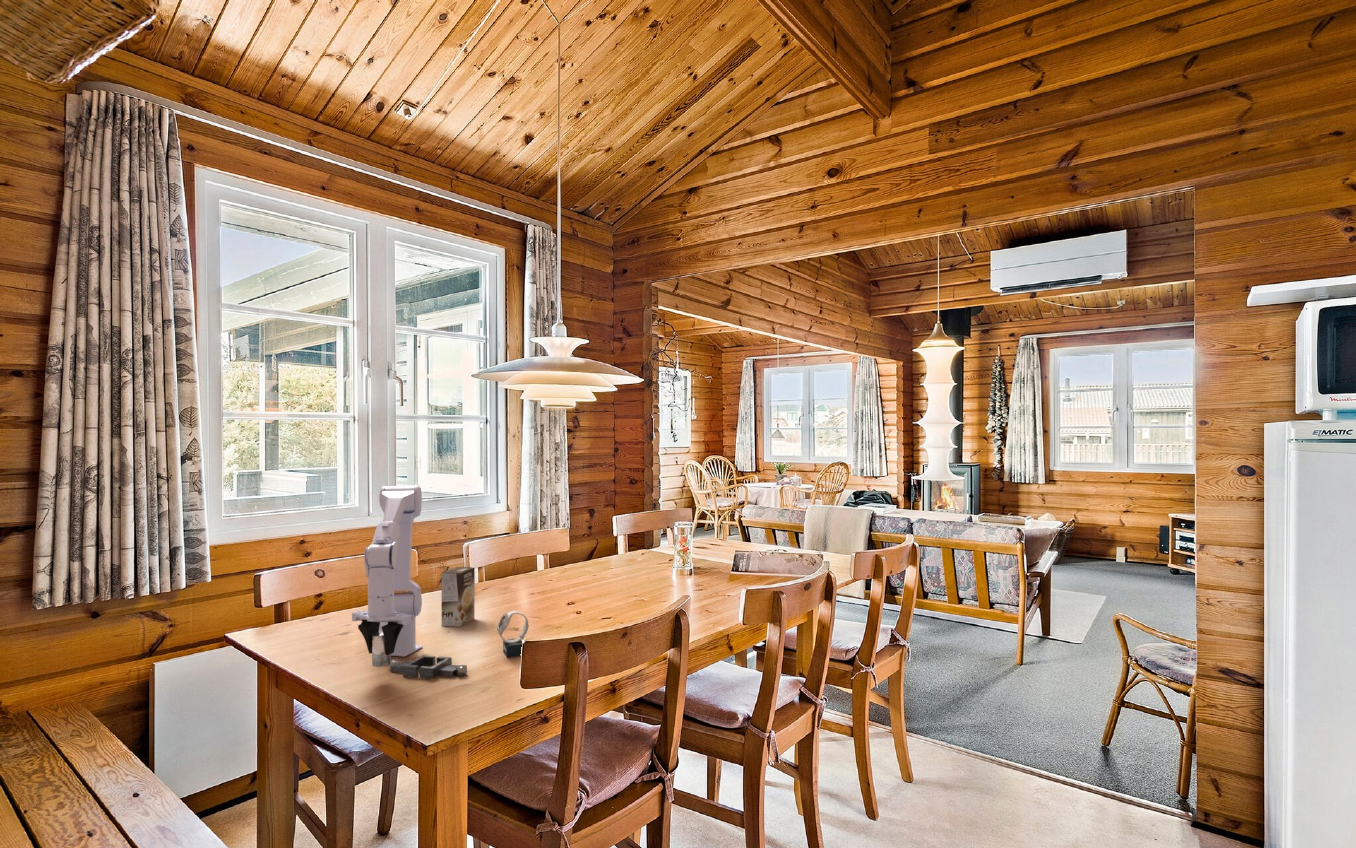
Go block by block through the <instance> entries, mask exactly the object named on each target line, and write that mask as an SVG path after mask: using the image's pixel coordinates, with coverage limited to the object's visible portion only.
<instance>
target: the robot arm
mask: <svg viewBox="0 0 1356 848" xmlns="http://www.w3.org/2000/svg"><path fill="white" fill-rule="evenodd" d="M422 494H423V493H422V488H421V487H420V485H419V484H416V485H391V486H390V485H389V486H388V485H383V486H382V487H381V488H380V490H379V495H378V499H379V500H378V501H379V506H380V508H381V510H382V512H383V520H382V522H380V523H379V524H377V526H376V528H375V532H374V535H373V538H372V541H371V544H370V545H369V546H366V548H365V550H364V554H363V555H364V558H363V561H364V567H365V577H366V578H367V610H356V611H353V612H352V613H351V622H358V621H359V622H361V623H360V624H357V627H358V630H359V631H360V633H361V634H362V636H363V638H364V641H365V644H366V648H367V650H368V654H371V655H372V634H374V633H377V632H383V634H384V638H385V652H386V655H390V654H391V656H392V657H407V656H409V655H411V654H412V653H413V654H414V653H415V652H416V651H418V650H420V649H422V648H423V645H420V644H417V643H416V642H417V641H416V636H417V635H416V617H418V616H419V615H420V614H421V611H422V606H423V600H422V599H423V598H422V589H421V586H420V585H419V584H418V583H417V582H415V581H414V580H412V579H411V575H412V551H413V550H412V547H413V545H412V543H413V525H414V520H415V519H416V518H417V517H420V516H421V512H422V501H423V500H422V498H423V495H422Z"/></svg>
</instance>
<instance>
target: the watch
mask: <svg viewBox="0 0 1356 848" xmlns="http://www.w3.org/2000/svg"><path fill="white" fill-rule="evenodd" d="M513 615H520V616H522V617H523V618H524V620H525V621H524V624H523V627H522V630H521V631H520V633H519V636H518V637H516V638H508V639H507V638H505V637H503V636H502V635H503V633H504V632H505V631H506V630H507V628H508V626H509V625H510V622H511V619H512V617H513ZM529 627H530V625H529V620H528V618H527V616H526V615H525V614H524V613H523V612H521V611H520V610H510V611H508V612H505V613H504V614H503V615H502V616H501V618H500V619H499V621H498V625H497V627H496V630H497V632H498V635H499V637H500V638H501V640H502V645H503V646H502V647H503V648H502V652H503V654H504V656H505V657H506V659H510V658H516V657H517V658H518V657H521V656H520V654H521V647H522V642H523V641H522V640H523V639H524V638H525V636H526V634H527V633H528V630H529Z"/></svg>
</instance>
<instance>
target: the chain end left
mask: <svg viewBox="0 0 1356 848" xmlns="http://www.w3.org/2000/svg"><path fill="white" fill-rule="evenodd" d="M436 664H437V663H436V655H426V654H424V655H420V656H418V657H417V658H415V659H412V660H402V661H401V659H399V658H398V659H397V658H396V659H395V658H394V659H391V663H390V664H389V671H392V672H393V673H398V674H399V673H400V674H402V675H403V676H402V677H404V678H405V677H406V678H418V677H420V667H421V666H428V667H432V666H434V665H436Z"/></svg>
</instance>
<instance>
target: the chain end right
mask: <svg viewBox="0 0 1356 848" xmlns="http://www.w3.org/2000/svg"><path fill="white" fill-rule="evenodd" d="M452 662H453V661H452V657H450V656H437V657H436V663H435V664H436V665H434V666H432V667H428V666H421V667H420V670H419V678H420V679H428V680H435V678H437V677H442V678H454V677H455V676H456V677H457V678H462V677H463V678H464V677H466V676H467V675H468V665H466V664H460V665H459V664H452Z"/></svg>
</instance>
